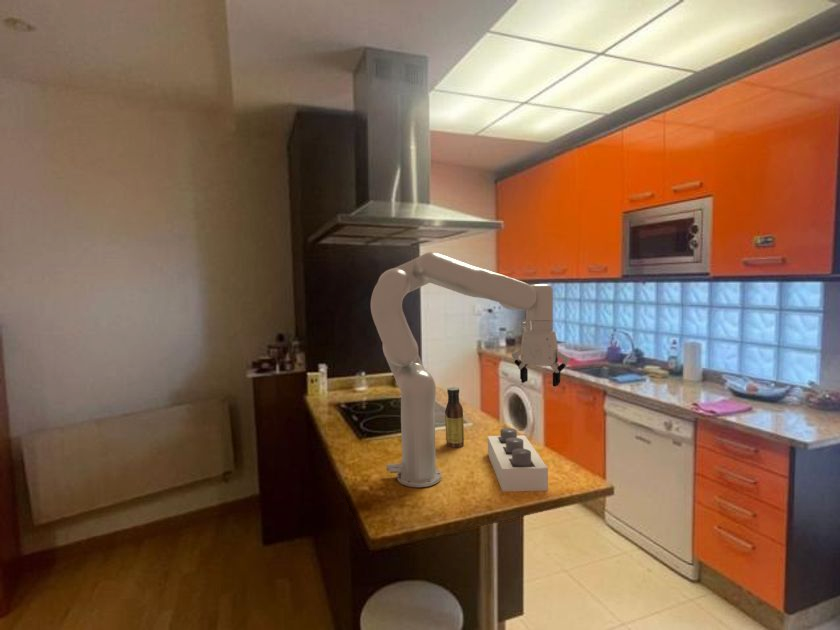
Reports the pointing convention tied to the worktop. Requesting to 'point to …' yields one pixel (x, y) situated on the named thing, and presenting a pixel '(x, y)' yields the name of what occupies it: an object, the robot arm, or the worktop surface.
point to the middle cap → (513, 444)
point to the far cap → (507, 434)
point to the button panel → (517, 476)
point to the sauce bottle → (454, 419)
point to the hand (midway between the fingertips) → (539, 383)
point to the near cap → (521, 458)
